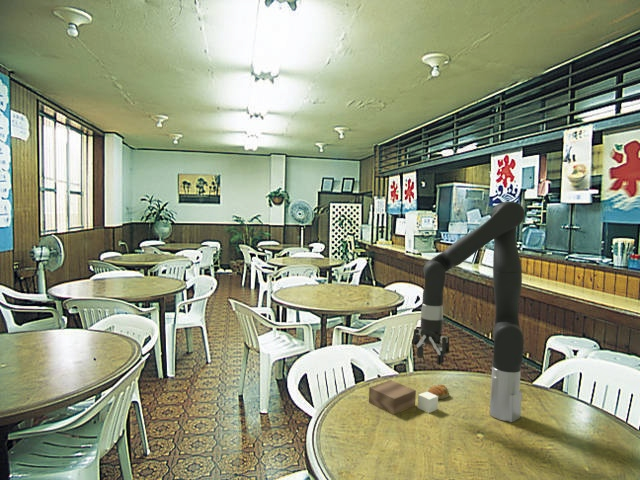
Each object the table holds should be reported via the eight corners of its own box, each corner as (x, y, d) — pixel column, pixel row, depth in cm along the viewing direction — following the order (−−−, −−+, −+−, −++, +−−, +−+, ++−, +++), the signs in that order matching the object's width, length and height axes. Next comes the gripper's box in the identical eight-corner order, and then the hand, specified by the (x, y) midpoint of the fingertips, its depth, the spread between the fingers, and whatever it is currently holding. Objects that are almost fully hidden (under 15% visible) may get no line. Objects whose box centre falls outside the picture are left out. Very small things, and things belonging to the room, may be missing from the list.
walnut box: (415, 406, 159) (415, 390, 158) (393, 415, 151) (394, 398, 151) (390, 395, 168) (390, 380, 168) (368, 403, 160) (369, 387, 160)
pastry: (436, 403, 162) (436, 393, 162) (421, 396, 167) (421, 387, 167) (450, 396, 168) (450, 387, 168) (435, 391, 173) (436, 381, 173)
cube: (437, 409, 156) (438, 396, 156) (428, 413, 153) (429, 399, 153) (426, 404, 160) (427, 391, 160) (417, 408, 157) (418, 394, 157)
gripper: (455, 319, 151) (452, 365, 152) (422, 311, 162) (420, 353, 163) (442, 322, 146) (439, 369, 147) (409, 313, 158) (407, 357, 159)
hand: (429, 361), depth 155 cm, fingers open, 8 cm apart
